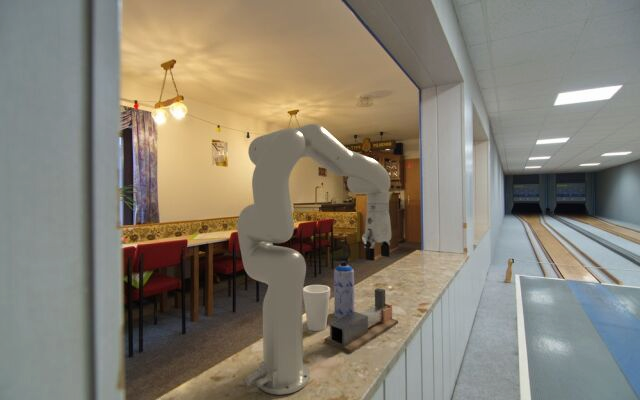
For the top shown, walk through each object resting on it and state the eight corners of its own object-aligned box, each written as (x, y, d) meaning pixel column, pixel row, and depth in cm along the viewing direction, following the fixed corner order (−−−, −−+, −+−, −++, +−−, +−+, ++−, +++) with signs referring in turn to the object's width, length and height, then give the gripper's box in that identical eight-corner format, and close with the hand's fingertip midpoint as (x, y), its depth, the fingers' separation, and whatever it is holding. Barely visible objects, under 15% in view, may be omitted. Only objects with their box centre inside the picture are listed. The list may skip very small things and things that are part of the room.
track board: (350, 353, 80) (350, 349, 80) (324, 341, 87) (324, 338, 87) (398, 323, 100) (398, 320, 100) (373, 315, 107) (373, 313, 107)
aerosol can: (358, 313, 109) (358, 261, 109) (347, 320, 103) (346, 264, 103) (341, 309, 114) (341, 258, 114) (329, 315, 108) (329, 262, 108)
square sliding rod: (361, 331, 90) (361, 300, 90) (352, 328, 92) (351, 298, 92) (387, 316, 101) (387, 289, 101) (378, 313, 104) (378, 287, 104)
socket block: (384, 323, 98) (384, 308, 98) (371, 318, 102) (371, 304, 102) (392, 318, 101) (391, 304, 101) (378, 314, 105) (378, 301, 105)
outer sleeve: (344, 347, 82) (343, 328, 82) (330, 340, 86) (329, 322, 86) (368, 332, 91) (367, 315, 91) (354, 327, 94) (354, 311, 94)
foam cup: (299, 323, 100) (299, 286, 100) (323, 319, 104) (323, 283, 104) (309, 335, 92) (308, 294, 92) (335, 329, 95) (334, 290, 95)
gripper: (373, 209, 91) (373, 263, 91) (399, 208, 104) (399, 256, 103) (354, 209, 96) (354, 260, 96) (381, 208, 109) (381, 253, 108)
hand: (377, 258), depth 100 cm, fingers open, 9 cm apart
